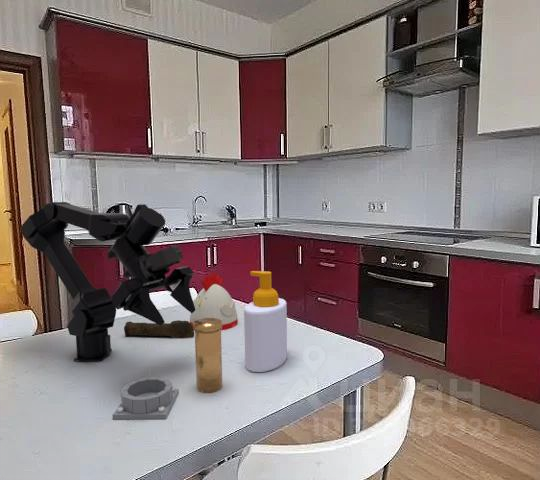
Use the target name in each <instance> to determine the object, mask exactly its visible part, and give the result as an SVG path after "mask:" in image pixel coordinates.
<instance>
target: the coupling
mask: <svg viewBox="0 0 540 480" xmlns="http://www.w3.org/2000/svg"><path fill="white" fill-rule="evenodd" d="M193 325H194V343H195V344H194V345H195V346H194V347H195V372H196V375H195V376H196V390H197V391H198V392H201V393H203V394H209V393H210V394H212V393H215V392H219V391H221V389H222V388H223V357H222V356H223V355H222V353H223V352H222V350H223V349H222V330H221V329H222V321H221V320H220V319H217V318H203V319H199V320H196V321H194V323H193Z"/></svg>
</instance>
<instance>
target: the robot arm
mask: <svg viewBox="0 0 540 480" xmlns="http://www.w3.org/2000/svg"><path fill="white" fill-rule="evenodd" d="M69 225H72V226H75V227H78V228H80V229H83V230H86V231H88V234H89V236H91V237H92V238H94V239H96V240H97V241H99V242H110V241H115V242H114V243H113V245H109V246H108V252H107V259H109V260H111V259H116V258H117V260H118V261H119V262H120V263H121V265H122V266H123V268H124V269H125V270H126V271H125V272H124V273H123V274H124V276H125V278H126V279H125V280H121V282H120V284H119V285H118V287H117V288H116V290H115V291H114V293H112V295H110V294H109V291H108V290H107V288H105V287H102V288H95V287H94V286H93V285H92V283H91V282H90V279H88V277H87V276H86V274H85V273H84V271H83V270H82V268H81V266H80V265H79V263H78V261H77V260H76V259H75V257H74V256H73V254H72V253H71V250H69V248H68V247H67V245H66V243H65V238H66V237H65V236H66V232H65V230H66V229H67V228H68V226H69ZM165 225H166V219H165V217H164V215H162V213H159V212H158V211H156V210H155V209H153V208H150V207H148V206H147V204H144V203H143V204H142V203H141V204H137V205H136V207H135V208H134V211H133V212H132V213H131V216H130V217H129V216H128V215H127V214H126V213H118V212H117V213H116V212H114V213H113V212H112V213H111V212H110V213H109V212H97V211H94V210H91V209H87V208H84V207H82V206H78V205H74V204H71V203H70V202H67V201H50V202H48V203H46V204H45V205H44V206H43V207H42V208H41V209H39V210H38V211H35V212H34V213H33V214H30V215H29V216H28V218H27V219H26V220H25V221H24V222H23V224H22V225H21V228H20V230H21V231H20V232H21V234H22V237H23V238H24V239H25V241H26V242H27V243H28V244H29V245H30V246H31V248H33V249H35V250H37V251H39V252H41V253H42V254H44V255H45V257H46V258H47V260H48V261H49V263H50V265H51V266H52V268H53V270H54V271H55V272H56V274H57V276H58V278H59V279H60V281H61V283H62V284H63V285H64V287H65V288H66V290H67V292H68V293H69V295H70V296H71V298H72V307H71V308H72V310H71V312H72V314H73V317H72V318H71V320H70V321H69V322H68V324H67V326H66V327H67V331H68V334H69V335H70V336H73V337H74V336H75V344H76V356H75V357H74V358H73V361H74V362H101V361H103V360H104V359H105V358H106V357H107V356H108V355H109V354H110V353H111V352H112V351H113V349H112V345H111V334H109V330H108V329H109V328H113V327H114V324H115V319H116V315H117V311H118V310H121V309H123V311H124V312H126V311H129V312H130V313H133V314H135V315H139V316H141V317H143V318H145V319H146V320H149V321H150V322H152V323H157V324H158V325H163V324H164V323H165V319H164V318H163V316H162V314H161V313H160V310H159V309H158V308H157V307H156V305H155V303H154V302H153V300H152V299H151V296H150V292H154V291H155V290H160V289H163V288H165V290H166V291H167V292H169V293H170V294H169V296H170V297H172V299H174V301H176V302H177V303H179V304H180V305H181V306H182V307H183V309H185V310H187V311H188V312H189V313H190V314H191V313H194V311H195V306H194V303H193V300H194V299H193V297H192V293H191V290H190V283H191V281H192V280H193V276H194V275H195V272H194V271H193V270H192V268H191V267H190V266H186V265H185V266H181V267H176V268H174V269H173V270H172V271H171V273H170V274H169V275H168V276H166V275H167V274H168V273H169V272H170V270H171V269H170V267H172V266H175V265H176V264H180V263H181V262H182V261H181V259H183V256H184V255H183V251H182V250H181V248H179V247H178V245H176V244H175V245H170V246H169V247H166V248H164V249H160V250H158V251H156V252H152V253H149V251H148V250H147V248H146V247H145V246H149V245H151V244H152V243H153V241H154V240H155V238H156V237H157V236H158V235H159V233H161V230H162V229H163V228H164V226H165ZM127 278H128V279H127ZM129 278H130V279H129Z"/></svg>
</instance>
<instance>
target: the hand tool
mask: <svg viewBox="0 0 540 480" xmlns="http://www.w3.org/2000/svg"><path fill="white" fill-rule="evenodd" d="M123 330H124V336H125V337H129V336H130V337H133V336H149V337H150V336H153V337H154V336H155V337H157V336H159V337H163V336H164V337H165V336H166V337H171V339H189V338H195V331H194V329H193V327H192V325H191V324H190V321H188V320H177V319H176V320H172V321H171V322H170V323H167V322H166V323H165V322H164V324H163V325H158V324H157V323H155V322H152V323H151V322H150V323H149V322H133V321H127V322H125V324H124V327H123Z"/></svg>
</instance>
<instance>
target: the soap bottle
mask: <svg viewBox="0 0 540 480" xmlns="http://www.w3.org/2000/svg"><path fill="white" fill-rule="evenodd" d="M249 274H250V276H252V277H259V288H257V289H256V290H255V291H254V292H253V295H252V300H253V301H251V302H250V303H248V304H246V305H245V307H244V310H243V317H244V319H243V320H244V323H243V324H244V325H243V326H244V328H243V329H244V359H245V360H244V364H245V367H246V369H247V370H248V371H250V372H251V373H263V372H264V373H265V372H269V371H271V370H274V369H277V368H279V367H280V366H282V365H284V363H285V361H286V360H287V357H288V338H287V336H288V332H287V331H288V328H287V327H288V321H287V316H288V315H287V314H288V313H287V308H288V307H287V305H288V304H287V301H286V300H285V299H284V298H280V297H279V294H278V292H277V290H276V289H275V288H273V287H272V271H268V270H267V271H264V270H263V271H262V270H261V271H260V270H252V271H250V273H249Z"/></svg>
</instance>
